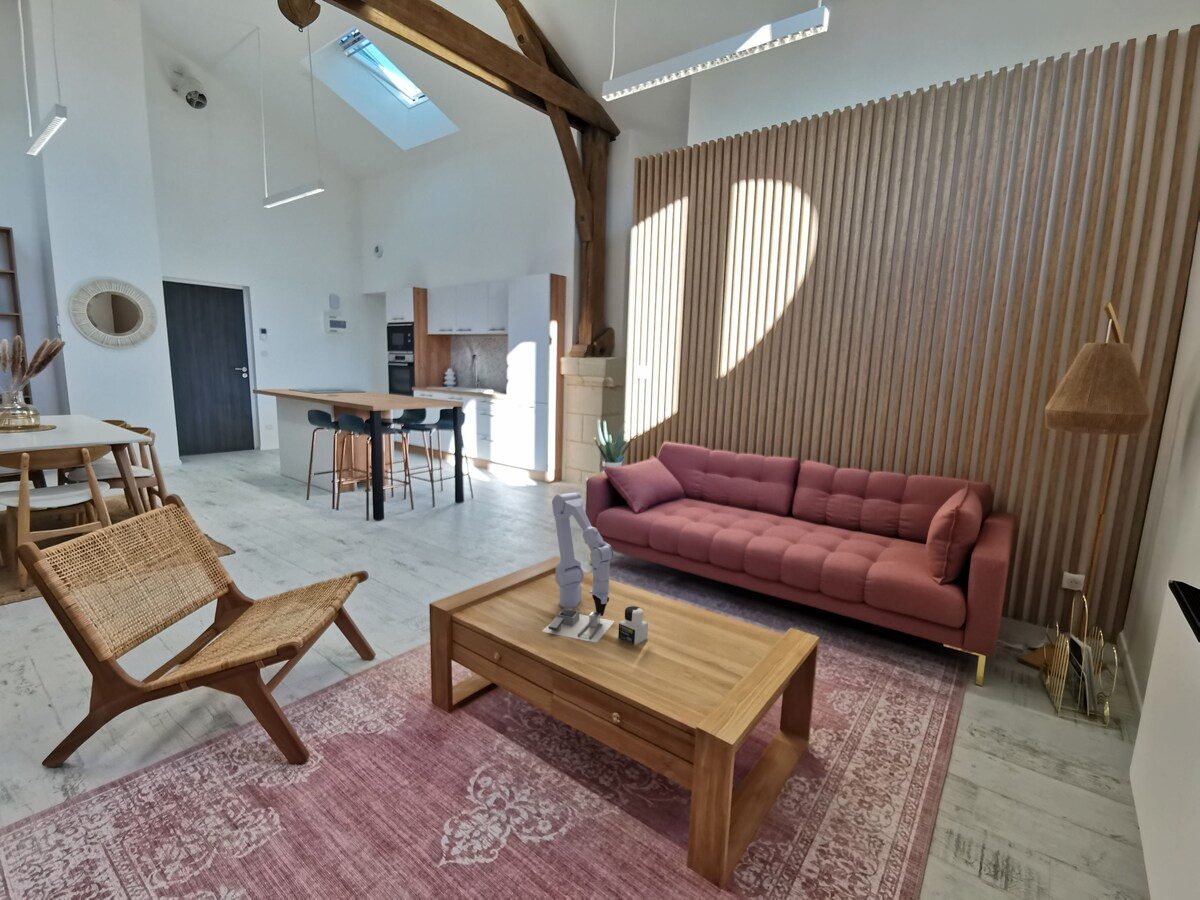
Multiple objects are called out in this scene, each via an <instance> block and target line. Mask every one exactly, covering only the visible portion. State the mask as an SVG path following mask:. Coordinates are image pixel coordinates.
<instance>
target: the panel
mask: <svg viewBox="0 0 1200 900" xmlns="http://www.w3.org/2000/svg"><path fill="white" fill-rule="evenodd" d="M556 617H560V618H564V621H563V623H562V624H561V625H560V627H559V628H558V629H557V631H556V630H551V629H549V627H548V626H549V625H550V624H551V622H550V623H549V624H548V625H547V626H546V627H545V628H544V629H542V631H541V633H547V634H553V635H556V636H563V637H566V638H567V637H568V638H571V639H576V640H581V641H584V642H585V641H586V642H591V643H595V644H596V643H598V642H599V640H601V638H602V637H603V636H604V634H605V633H606V632H607V631H608V630H609V629H610V628H611V626H612V625H613V624H614V622H615V620H611V619H605V618H601V617H600V625H599V626H598V627H592V626H589V615H585V614H580V611H579V610H575V609H574V616H573V617H569V616H564V615H563V609H562V610H561V611H560V612H559V613H558V614H556Z"/></svg>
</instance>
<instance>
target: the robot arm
mask: <svg viewBox="0 0 1200 900" xmlns="http://www.w3.org/2000/svg"><path fill="white" fill-rule="evenodd" d="M551 506H552V513H553V516H554V522H555V527H556V534H557V535H556V536H557V544H558V550H559V556H560V561H559V563H557V564H556V566H555V567H554V568H555V575H554V579H555V582H556V584H557V585H558V586H559V599H558V600H559V601H558V603H559V606H560V607H562V608H566V607H571V608H577V606H578V605H579V603H580V602H581V601H582V593H583V592H582V590H583V589H582V586H581V582H583V581H584V576H585V575H584V574H585V573H584V569H582V564H581V562H580V561H579V560H577V559H576V558H575V550H574V544H573V537H572V536H573V535H572V529H571V523H570V518H571V516H572V517H573V518H574V519H575V521H576V522H577V524H578V526H579V527H580V529H581V530H582V532H583V533H582V538H583V540H584V542H585V543H586V545H587V546H588V548H589V550H590V552H589V556H590V559H591V566H592V569H593V571H592V589H589V594H591V597H592V599H593V602H594V607H595V612H597V613H600V617H603V616H604V614H605V612H606V611H605V610H606V607H607V604H608V603H609V601H610V597H609V595H610V568H611V567H610V565H611V564H610V563H611V562H610V561H612V560H613V558H614V550H613V549H614V548H613V547H612V546H611V544H609V543H607V541H604V538H603V537H602V535H601V534H600V532H599V530H598V529H597V527H594V526H592V524H591V522H590V520H589V517H588V515H587V513H586V511H585V508H584V500H583V498H582V496H581V494H580V493H579V492H577V491H574V492H568V493H561V494H555V495H554V496H553V498H552V500H551Z"/></svg>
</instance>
